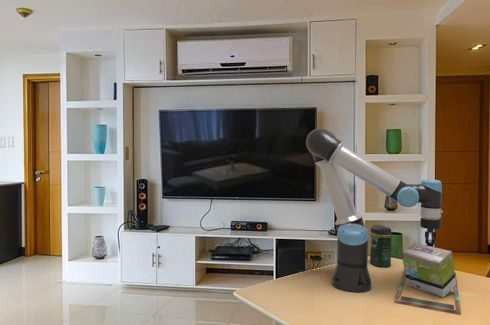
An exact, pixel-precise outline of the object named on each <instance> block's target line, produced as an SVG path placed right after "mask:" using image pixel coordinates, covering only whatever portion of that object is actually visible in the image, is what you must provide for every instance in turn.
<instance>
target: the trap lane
mask: <svg viewBox="0 0 490 325" xmlns="http://www.w3.org/2000/svg"><path fill="white" fill-rule="evenodd" d="M455 278H456V285H455V286H454V287H453V293H454V295H453V296H454V302H455V304H449V303H444V302H438V301H432V300H428V299H427V300H426V299H420V298H415V297H409V296H404V295H403V296H402V295H401V293H402V290H403V287H404V283H405V281H406V280H405V279H406V276H405V270H404V269H403V270H402V274H401V277H400V279H399V283H398V286H397V288H396V293H395V296H394V299H393V303H395V304H400V305H405V306H410V307H411V306H412V307H415V308H416V307H417V308H421V309H427V310H432V311H438V312H444V313H448V314H455V315H461V316H462V310H461V304H460V293H459V288H458V282H457V281H458V280H457V275H456V271H455ZM400 296H401V297H400ZM454 305H455V306H454Z"/></svg>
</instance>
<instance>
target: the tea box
mask: <svg viewBox="0 0 490 325" xmlns="http://www.w3.org/2000/svg"><path fill="white" fill-rule="evenodd" d="M401 255H402V256H401V257H402V263H403V271H404V270H405V279H406V280H405V281H406V285H407V286H409V287H412V288H415V289H418V290H421V291H424V292H426V293H430V294H432V295H436V296H438V297H441V298H445V297H446V296H447V295H448V294H449V292H451V290H453V289H454V286H455V285H456V279H457V277H456V278H455V272H456V271H455V265H454V258H453V251H452V250H449V249H448V250H447V249H443V248H440V247H439V248H438V247H434V246H433V247H431V246H427V244H422V243H418V242H413V244H411V246H409V247H408V248H407V249H405V250H404V251H403V252H401Z"/></svg>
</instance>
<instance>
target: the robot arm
mask: <svg viewBox="0 0 490 325" xmlns="http://www.w3.org/2000/svg"><path fill="white" fill-rule="evenodd" d="M305 145H306V148H307V150H308V151H309V153H311V155H312V158H313V161H314V164H315V165H317V166H319V168H320V170H321V174H322V176H323V179H324V183H325V186H326V188H327V191H328V195H329V199H330V201H331V204H332V207H333V210H334V213H335V216H336V221H335V223H334V225H335V228H336V231H337V233H336V236H337V237H336V238H337V244H336V245H337V249H336V266H335V268H334V271H333V274H332V277H331V285H332V286H333V287H335V288H336V289H338V290H341V291H345V292H350V293H353V292H354V293H363V292H364V293H365V292H368V291H370V290H372V284H373V283H372V282H373V281H372V278H371V275H370V272H369V268H368V265H369V264H368V263H369V262H368V259H369V258H368V257H369V256H368V255H369V237H370V235H369V230H368V228H367V227H366V225H365V221H364V219H363V217H362V215H361V214H359V213H357V210H356V207H355V203H354V200H353V198H352V194H351V192H350V190H349V187H348V183H347V180H346V177H345V174H344V171H343V169H344V170H345V171H347V172H349V173H351V174H352V175H354V176H355V177H356V178H359V179H360V180H362V181H363V182H364V183H367V184H368V185H370V186H372V187H373V188H375V189H376V190H378V191H380V192H381V193H382V194H384V195H385V196H388V197H389V201H390V202H393V203H394V202H395V203H399V205H400V206H401V207H404V208H412V207H415V206H417V204H420V209H419V210H420V211H419V212H420V213H419V214H420V220H419V223H420V224H419V226H420V228H422V229H426V231H425V232H424V238H425V239H424V240H425V242H424V243H425V245H427V246H431V247H434V245H435V243H436V236H437V235H436V234H437V233H436V232H435V231H434V230H440V229H441V228H442V219H441V218H442V213H443V214H444V212H443V210H442V200H443V199H442V196H443V190H442V188H443V186H442V181H441V180H438V179H421V181H420V183H419V184H418V183H417V184H414V183H413V184H412V183H406V182H404V181H402V180H401V179H398V177H396V176H394V175H392V174H391V173H389V172H387V171H386V170H385V169H383V168H381V167H379V166H378V165H376V164H374V163H373V162H371V161H370V160H368V159H366V158H364V157H363V156H361V155H359V154H358V153H356V152H355V151H353V150H351V149H349V148H348V147H347V146H345V145H344V143H343V141H342V140H340V139H338V138H337V136H336V135H335V134H334V133H333V132H332V131H331V130H328V129H326V128H323V127H321V128H319V127H318V128H315V129H313V130H311V131H310V132H309V133H308V135H307V137H306V140H305ZM342 168H343V169H342Z"/></svg>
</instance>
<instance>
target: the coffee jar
mask: <svg viewBox="0 0 490 325" xmlns="http://www.w3.org/2000/svg"><path fill="white" fill-rule="evenodd" d="M392 236H393V235H392V229H391V228H390V227H387V226H385V225H382V224H372V226H371V227H370V238H371V239H370V240H371V241H370V253H369V263H370V264H371V265H374V266H376V267H382V268H387V267H391V265H392V259H391V257H392V255H391V248H392V247H391V241H392Z"/></svg>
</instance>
